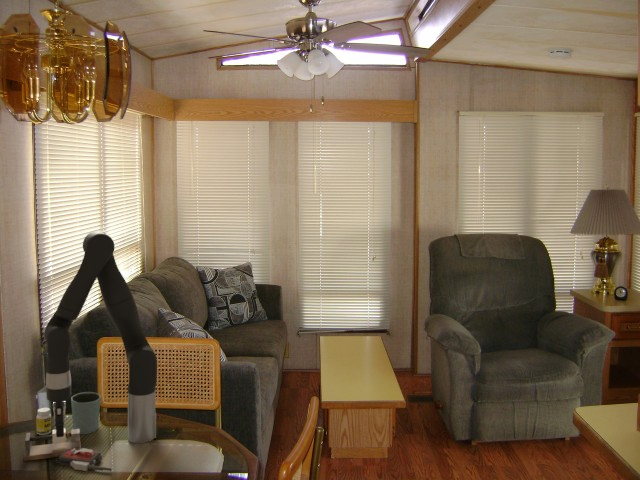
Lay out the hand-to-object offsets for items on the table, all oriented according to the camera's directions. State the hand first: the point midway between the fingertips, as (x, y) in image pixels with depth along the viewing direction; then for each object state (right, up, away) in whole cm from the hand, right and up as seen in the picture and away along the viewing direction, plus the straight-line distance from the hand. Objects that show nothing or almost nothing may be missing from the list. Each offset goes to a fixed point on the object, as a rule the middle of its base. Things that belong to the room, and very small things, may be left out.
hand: (60, 431), depth 207 cm
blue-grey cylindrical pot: (+2, -5, +19) cm, 20 cm away
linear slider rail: (-2, -7, 0) cm, 8 cm away
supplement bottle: (-12, -5, +15) cm, 19 cm away
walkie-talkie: (+11, -9, -6) cm, 16 cm away
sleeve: (-1, -3, 0) cm, 3 cm away
